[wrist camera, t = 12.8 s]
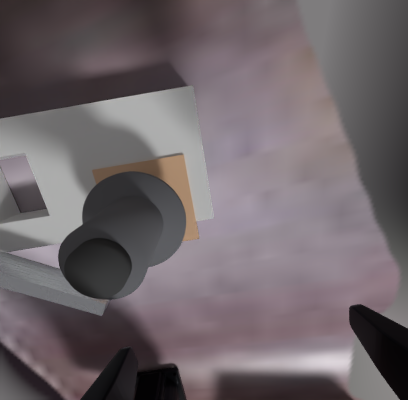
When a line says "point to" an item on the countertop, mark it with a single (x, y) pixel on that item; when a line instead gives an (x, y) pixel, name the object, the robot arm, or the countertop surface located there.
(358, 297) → the countertop surface
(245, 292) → the countertop surface
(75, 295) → the lever with ball end
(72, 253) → the plug
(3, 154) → the white flat board
